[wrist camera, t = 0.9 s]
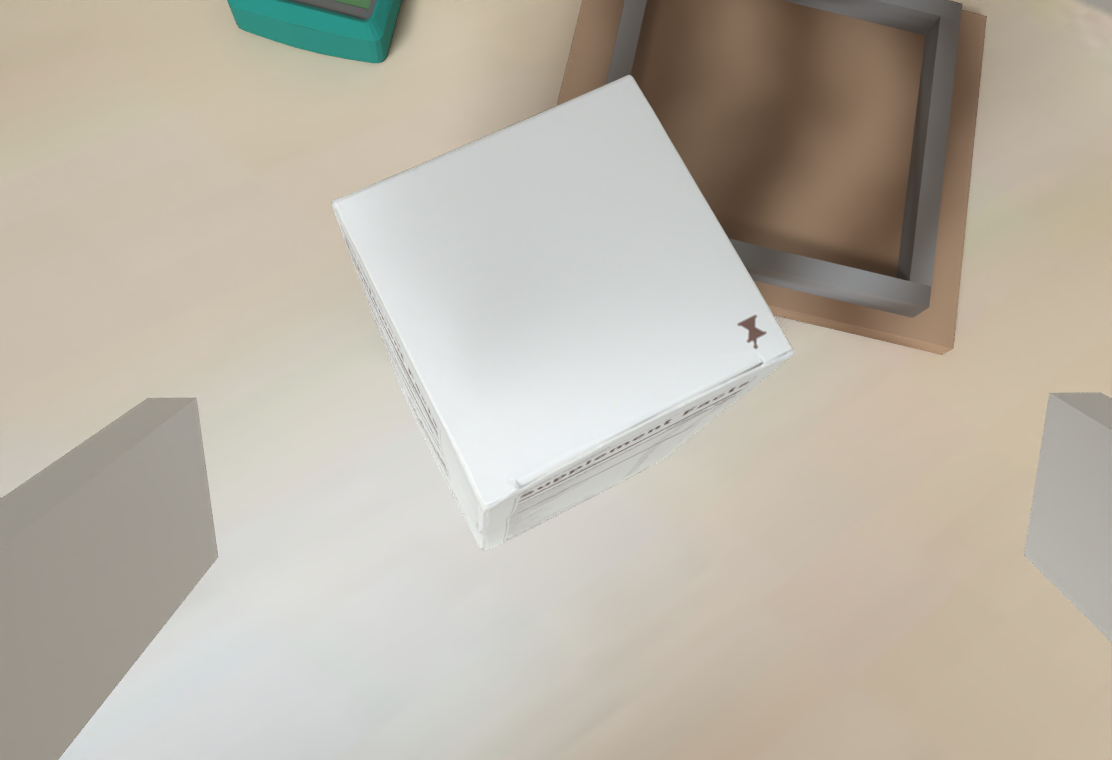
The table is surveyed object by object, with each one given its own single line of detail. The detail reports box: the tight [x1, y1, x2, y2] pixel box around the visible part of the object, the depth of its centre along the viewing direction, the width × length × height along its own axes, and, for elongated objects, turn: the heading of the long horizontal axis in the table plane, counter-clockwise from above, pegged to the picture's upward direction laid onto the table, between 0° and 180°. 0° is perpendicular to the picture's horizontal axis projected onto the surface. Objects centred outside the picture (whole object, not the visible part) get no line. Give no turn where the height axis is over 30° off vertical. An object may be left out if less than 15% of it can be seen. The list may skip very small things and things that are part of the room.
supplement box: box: [332, 75, 793, 550], centre depth 31 cm, size 10×9×17 cm
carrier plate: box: [557, 0, 987, 354], centre depth 42 cm, size 20×18×2 cm
